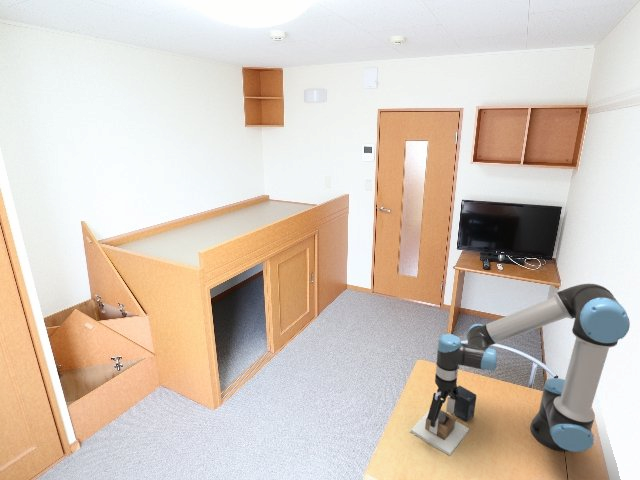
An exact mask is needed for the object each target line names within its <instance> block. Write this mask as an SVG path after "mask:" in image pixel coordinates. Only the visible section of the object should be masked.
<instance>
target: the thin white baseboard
mask: <svg viewBox="0 0 640 480" xmlns="http://www.w3.org/2000/svg"><path fill="white" fill-rule="evenodd" d="M442 411H443V410H442ZM442 411H440V413H439V415H438V418H437V419H438V422H439V423H441V424H442V425H445V418H446V414H445V413H446V412H445V411H444V412H445V413H444V412H442ZM428 413H429V410H428V411H427V412H426V413H425V414H424V415H423V416H422V417H421V418H420V419H419V420H418V421H417V422H416V424H415V425H413V426H412V428H411V429H410V433H411V434H413V435H414V436H416V437H417V438H419V439H421V440H423V441H424V442H425V443H428V444H429V445H430V446H433V447H435V448H436V449H438V450H439V451H441V452H442V453H444V454H446V455H447V456H449V457H450V456H451V455H452V454H453V452H454V451H456V449H457V447H458V445H460V444H461V442H462V441H463V440H464V438H465V437H466V435H467V434H468V432H469V431H470V428H469V427H467V426H465V425H464V424H462V423H460V422H458V421H456V420H455V426H454V429H453V431H452V432H451V433H450V434H449V436H448V437H447V438H446V439H445V440H443V439H441V438H439V437H438V436H436V435H434V434H433V433H431V432H429V431H428V430H426V429H425V425H426V418H427V417H428Z"/></svg>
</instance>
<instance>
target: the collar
mask: <svg viewBox="0 0 640 480" xmlns="http://www.w3.org/2000/svg"><path fill="white" fill-rule="evenodd" d="M440 411H442V412H444V413H445V414H446V418H445V425H442V424H441V423H439V422H438V428H437V434H434V433H433V434H434V435H436V436H438V437H439V438H441V439H443V440H445V439H446V438H447V437H448V436H449V434H450V433H451V432H452V431H453V429H454V426H455V421H456V416H453V415H452V414H450V413H448V412H445V411H443V410H440ZM429 428H430V420H428V419H427V418H426V425H425V429H426V430H428V431H429ZM429 432H431V431H429ZM431 433H432V432H431Z"/></svg>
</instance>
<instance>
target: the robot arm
mask: <svg viewBox="0 0 640 480" xmlns="http://www.w3.org/2000/svg"><path fill="white" fill-rule="evenodd" d="M566 318H567V319H571V320H573V319H574V321H573V325H572V329H571V332H572V334H573V336H574V337H575V341H574V344H573V349H572V353H571V355H570V359H569V364H568V366H567V371H566V375H565V378H564V379H563V378H558V377H552V378H548V379H546V381H544V382H545V383H544V385H543V390H542V396H541V399H540V400H541V401H540V405H539V409H538V412H537V413H536V415H535V416H534V417H533V418H532V419H531V422H530V426H529V427H530V428H529V429H530V432H531V434H532V435H533V437H534V439H536V440H537V442H539V443H540V444H542V445H543V446H546V447H548V448H549V449H552V450H555V451H560V452H575V453H577V452H578V453H579V452H584V451H585V452H586V451H587V450H590V449H591V448H592V447H593V445H594V442H595V440H594V434H593V433H592V428H593V424H594V421H595V416H596V415H595V411H594V409H592V406H593V403H594V399H595V397H596V393H597V389H598V386H599V383H600V379H601V376H602V373H603V371H604V367H605V366H604V365H605V362H606V360H607V356H608V352H609V349H610V348H613V347H616V346H617V345H618V341H620V339H621V340H622V339H624V338H625V337H626V336H627V334H628V332H629V330H630V328H631V327H630V325H631V324H630V323H631V321H630V317H629V316H628V313H627V311H626V309H625V308H624V307H623V305H622V304H620V303H619V301H618V300H617V299H616V298H615V296H614V294H613V293H612V292H611V291H610V290H609V289H607V288H606V287H604V286H603V285H600V284H597V283H596V284H595V283H583V284H582V283H581V284H578V285H577V284H576V285H574V286H570V287H568V288H565V289H562V290H559V291H558V292H556V293H555V295H554V296H553V297H551V298H548V299H546V300H544V301H541V302H538V303H536V304H533V305H531V306H529V307H526V308H523V309H522V310H519V311H516V312H514V313H511V314H509V315H506V316H504V317H502V318H499V319H496V320H493V321H492V322H489V323H486V324H481V323H474V324H472V325H471V326H470V327H469V328H468V330H467V336H466V337H467V343H462V340H461V339H460V337H459V336H457V335H455V334H452V333H446V334H442V335H440V337H439V338H438V344H437V351H436V352H437V353H436V362H435V365H436V366H435V368H436V369H435V377H434V378H435V379H434V383H435V384H436V386H437V390H436V391H437V392H433V395H432V400H431V403H430V405H429V406H430V407H429V410H428V411H429V413H428V417H427V419H428V420H430V428H429V431H431V432H432V433H434V434H437V428H438V419H437V418H438V415H439V413H440V410H441V409H442V407H443V404H445V403H446V400H447V403H446V413H448V414H450V415H451V416H453V415H454V406H455V399H456V400H458V397H457V396H456V395H458V388H457V387H458V385H457V383H458V381H457V380H458V376H459V375H458V373H459V365H460V366H464V367H468V368H473V369H477V370H481V371H490V372H493V371H495V370H496V368H497V361H498V352H497V350H496V349H495V348H491V347H490V346H493V345H495V344H498V343H501V342H504V341H506V340H510V339H512V338H514V337H517V336H521V335H523V334H526V333H528V332H531V331H534V330H537V329H540V328H542V327H545V326H547V325H550V324H553V323H555V322H557V321H558V322H559V321H561V320H563V319H566Z"/></svg>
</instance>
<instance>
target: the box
mask: <svg viewBox="0 0 640 480" xmlns="http://www.w3.org/2000/svg"><path fill="white" fill-rule="evenodd" d="M457 388H458V395H456V396H457V397H458V400H456V399H455V406H454V414H453V415H454V416H455V417H457V418H459V419H460V420H462V421H464V422H465V423H468V422H469V421H470V420H471V419H472V418H474V416H475V410H476V402H477V396H478V395H477V394H476V393H474V392H472V391H470V390H468V389H467V388H465V387H464V386H462V385H457Z"/></svg>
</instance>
